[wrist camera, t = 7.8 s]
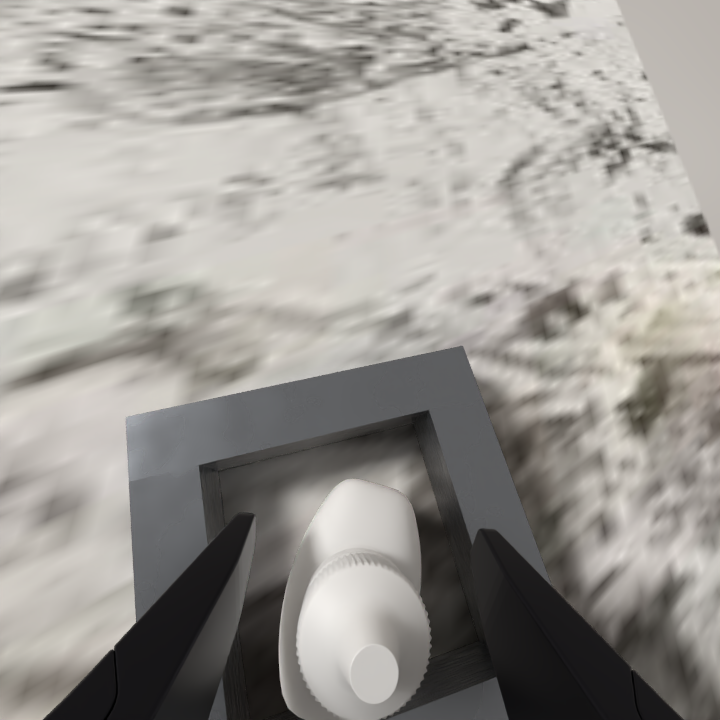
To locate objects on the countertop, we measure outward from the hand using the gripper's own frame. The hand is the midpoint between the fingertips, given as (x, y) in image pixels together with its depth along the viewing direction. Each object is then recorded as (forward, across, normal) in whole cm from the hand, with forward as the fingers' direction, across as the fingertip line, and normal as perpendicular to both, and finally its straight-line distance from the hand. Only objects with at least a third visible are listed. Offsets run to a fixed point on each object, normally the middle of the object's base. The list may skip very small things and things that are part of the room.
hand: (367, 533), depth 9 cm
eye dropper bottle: (+5, 0, +7) cm, 9 cm away
